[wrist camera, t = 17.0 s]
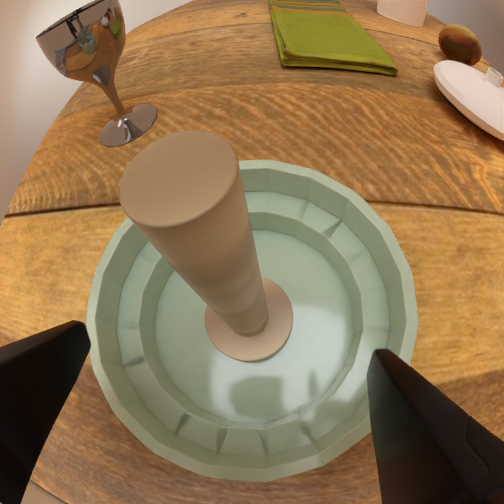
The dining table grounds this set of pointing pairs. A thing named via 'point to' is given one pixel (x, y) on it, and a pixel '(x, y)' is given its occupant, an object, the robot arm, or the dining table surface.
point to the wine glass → (96, 62)
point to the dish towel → (325, 37)
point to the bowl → (274, 368)
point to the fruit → (460, 44)
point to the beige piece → (208, 238)
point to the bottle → (404, 11)
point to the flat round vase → (473, 94)
